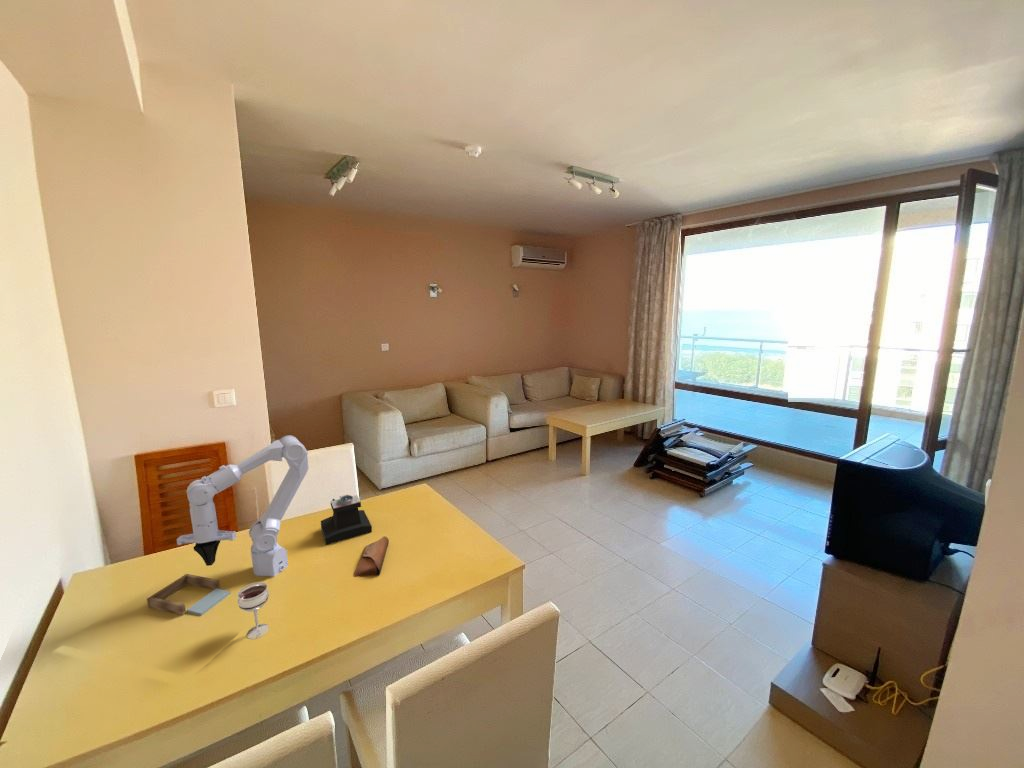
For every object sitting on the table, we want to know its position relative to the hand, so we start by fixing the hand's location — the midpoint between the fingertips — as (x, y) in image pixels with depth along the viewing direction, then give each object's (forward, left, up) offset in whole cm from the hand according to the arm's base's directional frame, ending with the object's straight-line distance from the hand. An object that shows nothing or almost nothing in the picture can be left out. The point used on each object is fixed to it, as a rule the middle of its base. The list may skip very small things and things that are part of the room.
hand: (210, 563), depth 120 cm
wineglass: (-25, +10, -9) cm, 29 cm away
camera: (-17, -39, -9) cm, 44 cm away
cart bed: (+4, +6, -9) cm, 11 cm away
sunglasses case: (-37, -24, -10) cm, 46 cm away
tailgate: (-2, +6, -8) cm, 10 cm away
